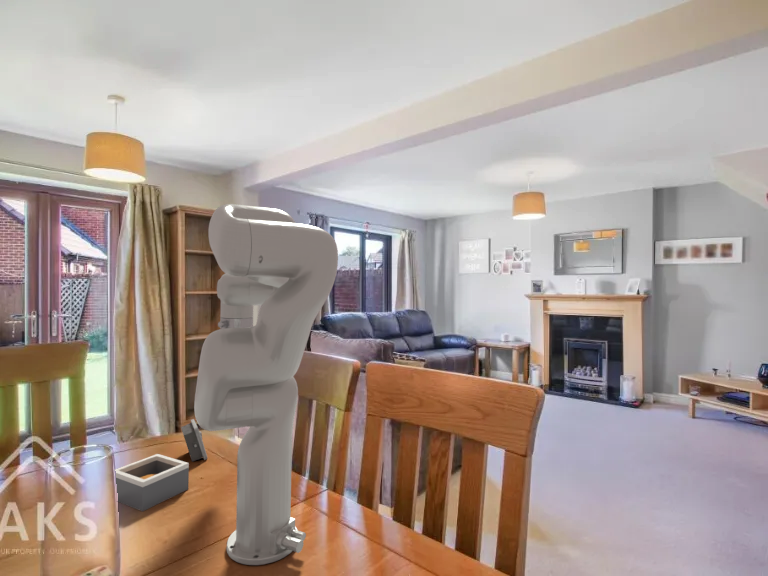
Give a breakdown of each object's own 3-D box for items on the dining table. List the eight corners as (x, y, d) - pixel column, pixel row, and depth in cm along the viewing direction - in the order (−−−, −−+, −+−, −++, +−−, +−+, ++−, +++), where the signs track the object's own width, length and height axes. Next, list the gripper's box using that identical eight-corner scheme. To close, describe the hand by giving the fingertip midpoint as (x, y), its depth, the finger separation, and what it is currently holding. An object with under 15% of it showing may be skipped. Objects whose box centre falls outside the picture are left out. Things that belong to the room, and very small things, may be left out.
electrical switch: (207, 460, 113) (204, 426, 113) (186, 466, 111) (183, 431, 110) (203, 448, 121) (200, 416, 121) (183, 453, 119) (180, 421, 118)
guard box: (188, 489, 97) (188, 463, 97) (142, 511, 87) (142, 482, 87) (157, 478, 102) (157, 453, 102) (110, 498, 92) (110, 471, 92)
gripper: (220, 328, 93) (219, 412, 93) (272, 323, 108) (271, 395, 108) (196, 326, 96) (195, 407, 97) (250, 321, 111) (249, 391, 111)
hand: (235, 399), depth 102 cm, fingers closed on handle, 3 cm apart
